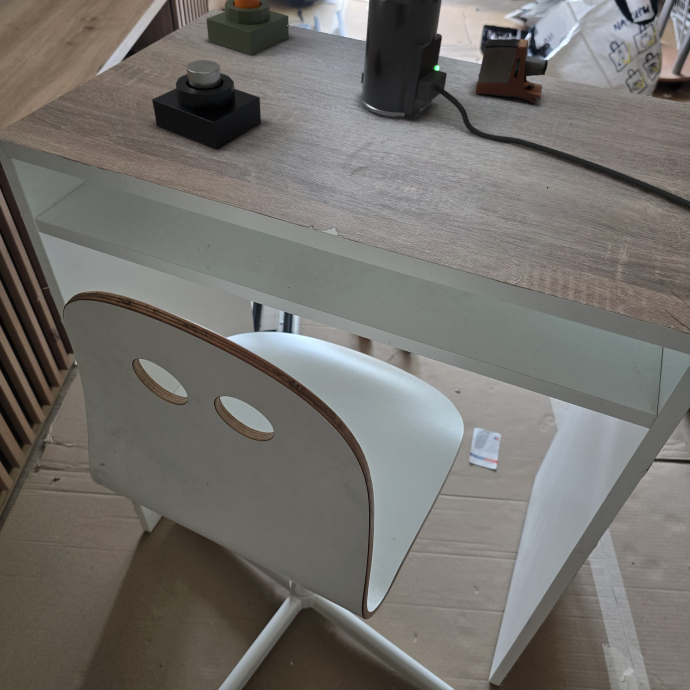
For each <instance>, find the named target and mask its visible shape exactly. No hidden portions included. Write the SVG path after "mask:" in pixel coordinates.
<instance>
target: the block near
mask: <svg viewBox="0 0 690 690" xmlns="http://www.w3.org/2000/svg"><path fill="white" fill-rule="evenodd" d="M220 75H221V87H219V88H217V89H213V90H207V91H206V90H195V89H192V88H190V87H189V83H188V76H187V73H186V74H184V75H181V76H180V77H178V79H177V80H176V81H175V88H174V89H172V90H170V91H167V92H165V93H163V94H160V95H159V96H157V97H155V98H152V99H151V100H152V106H153V107H152V108H153V112H154V117H155V124H156V127H159V128H161V129H164V130H167V131H168V132H172V133H174V134H176V135H179V136H181V137H184V138H187V139H189V140H191V141H194V142H197V143H199V144H201V145H204V146H206V147H209V148H212V149H214V150H218V149H220V148H221V147H223V146H225V145H226V144H228V143H230V142H231V141H234V140H235V139H237V138H238V137H240V136H242V135H244V134H245V133H247V132H249V131H250V130H252V129H254V128H255V127H257V126H259V125H260V124H262V115H261V97H259V96H257V95H254V94H251V93H248V92H246V91H243V90H240V89H236V88H235V81H234V80H233V79H232V78H231V77H230V75H228V74H224V73H221V72H220Z"/></svg>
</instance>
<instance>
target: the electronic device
mask: <svg viewBox="0 0 690 690" xmlns="http://www.w3.org/2000/svg"><path fill="white" fill-rule="evenodd" d="M528 52H529V40H528V39H523V38H521V39H520V38H507V39H506V38H504V39H503V38H499V39H498V38H497V39H496V38H493V39H491V38H489V39H487V40H486V42H485V44H484V46H483V54H482V59H481V64H480V69H479V73H478V79H477V81H476V86H475V94H476V95H489V96H492V97H493V96H494V97H503V98H511V99H522V100H525V101H527V102H529V103H530V104H532V105H534V104H535V103H536V100H541V98H542V97H541V96H542V90H543V85H542V84H539V83H535V82H531V81H529V80H528V79H527V78H528V77H536V76H538V77H539V76H545V75H546V72H547V70H548V63H549V60H548V59H542V58H538V57H533V56H529V55H528Z"/></svg>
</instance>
